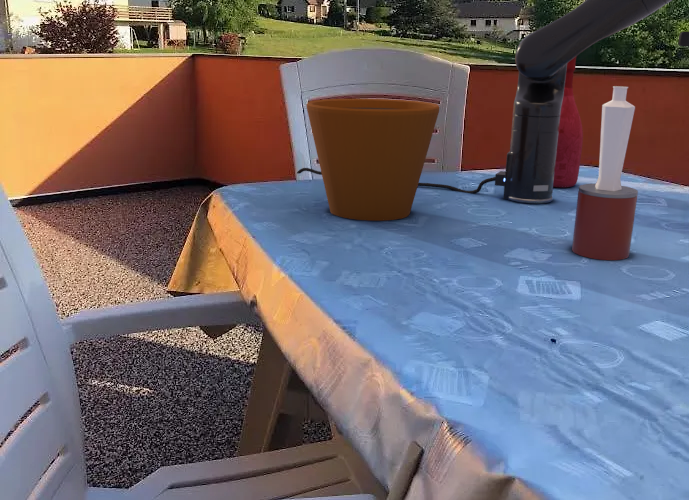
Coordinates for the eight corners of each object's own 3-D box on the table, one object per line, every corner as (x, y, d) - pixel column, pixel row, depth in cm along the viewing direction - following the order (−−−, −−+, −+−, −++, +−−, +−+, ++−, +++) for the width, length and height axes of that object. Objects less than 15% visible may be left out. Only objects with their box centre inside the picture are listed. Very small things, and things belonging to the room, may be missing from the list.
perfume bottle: (627, 192, 104) (640, 88, 100) (595, 190, 105) (608, 87, 101) (621, 186, 108) (634, 86, 104) (591, 185, 109) (603, 85, 105)
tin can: (567, 255, 108) (575, 190, 105) (576, 242, 115) (583, 181, 112) (626, 263, 104) (635, 196, 101) (631, 249, 111) (639, 186, 109)
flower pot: (288, 221, 125) (287, 105, 119) (327, 195, 147) (328, 96, 141) (421, 232, 119) (428, 111, 113) (441, 203, 141) (447, 101, 135)
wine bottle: (580, 183, 165) (595, 49, 157) (574, 190, 157) (590, 49, 148) (537, 179, 169) (549, 48, 161) (529, 186, 160) (542, 48, 152)
